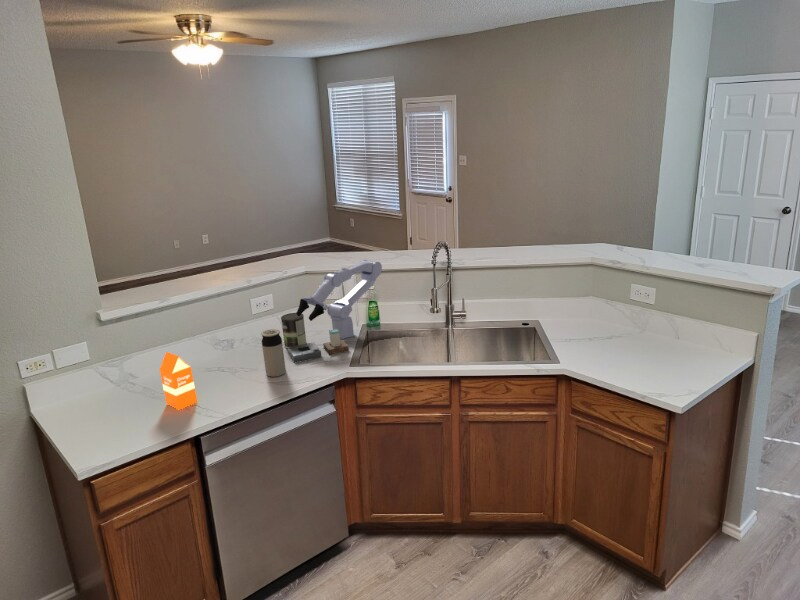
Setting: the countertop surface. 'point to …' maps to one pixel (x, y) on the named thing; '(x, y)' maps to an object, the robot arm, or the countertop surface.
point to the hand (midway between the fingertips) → (303, 317)
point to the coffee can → (293, 329)
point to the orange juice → (177, 382)
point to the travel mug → (273, 353)
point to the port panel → (304, 352)
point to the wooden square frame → (335, 348)
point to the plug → (334, 338)
